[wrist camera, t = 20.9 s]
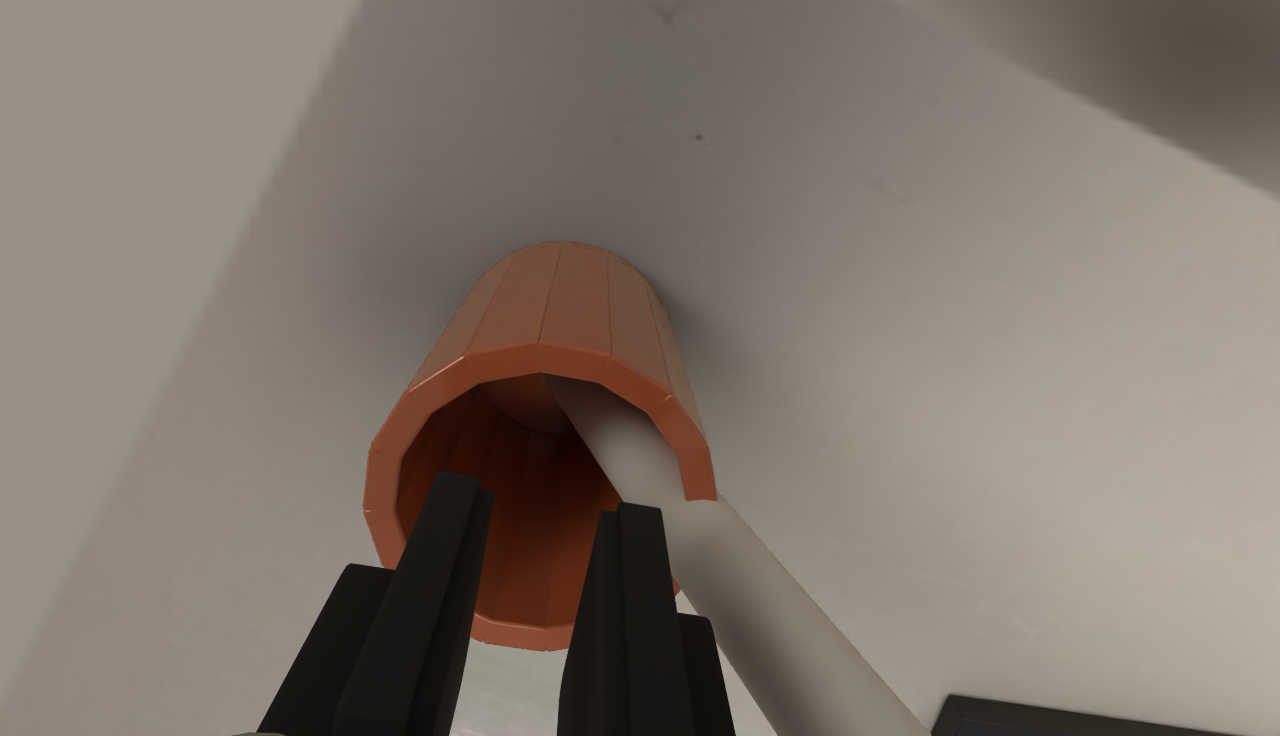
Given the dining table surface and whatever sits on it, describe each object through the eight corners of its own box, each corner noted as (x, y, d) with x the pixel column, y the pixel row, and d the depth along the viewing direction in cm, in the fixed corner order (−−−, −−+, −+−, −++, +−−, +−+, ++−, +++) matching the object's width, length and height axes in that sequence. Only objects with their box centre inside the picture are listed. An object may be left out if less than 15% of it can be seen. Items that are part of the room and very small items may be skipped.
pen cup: (474, 220, 18) (383, 309, 10) (692, 265, 18) (756, 381, 11) (444, 422, 20) (348, 625, 12) (644, 457, 20) (671, 671, 13)
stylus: (539, 327, 18) (913, 818, 7) (594, 331, 18) (1017, 789, 7) (529, 381, 18) (863, 920, 7) (583, 383, 19) (965, 885, 8)
